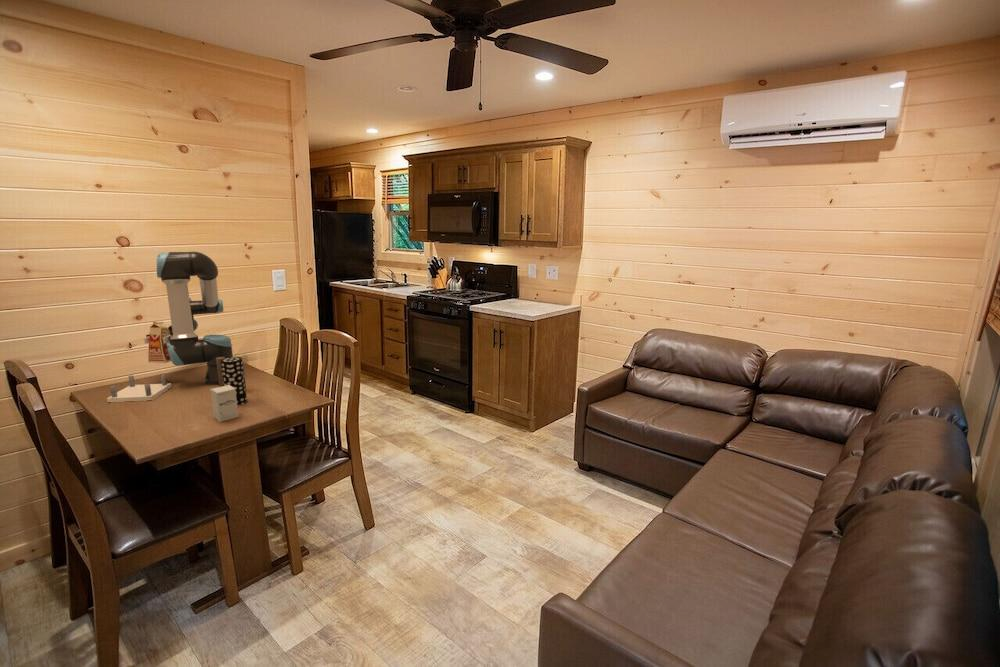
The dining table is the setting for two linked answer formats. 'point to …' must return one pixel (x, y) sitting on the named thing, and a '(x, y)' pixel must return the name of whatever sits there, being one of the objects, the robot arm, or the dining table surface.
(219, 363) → the wooden block
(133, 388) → the peg platform
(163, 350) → the milk carton
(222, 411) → the supplement box
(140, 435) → the dining table surface
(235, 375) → the white-spotted black cylinder
